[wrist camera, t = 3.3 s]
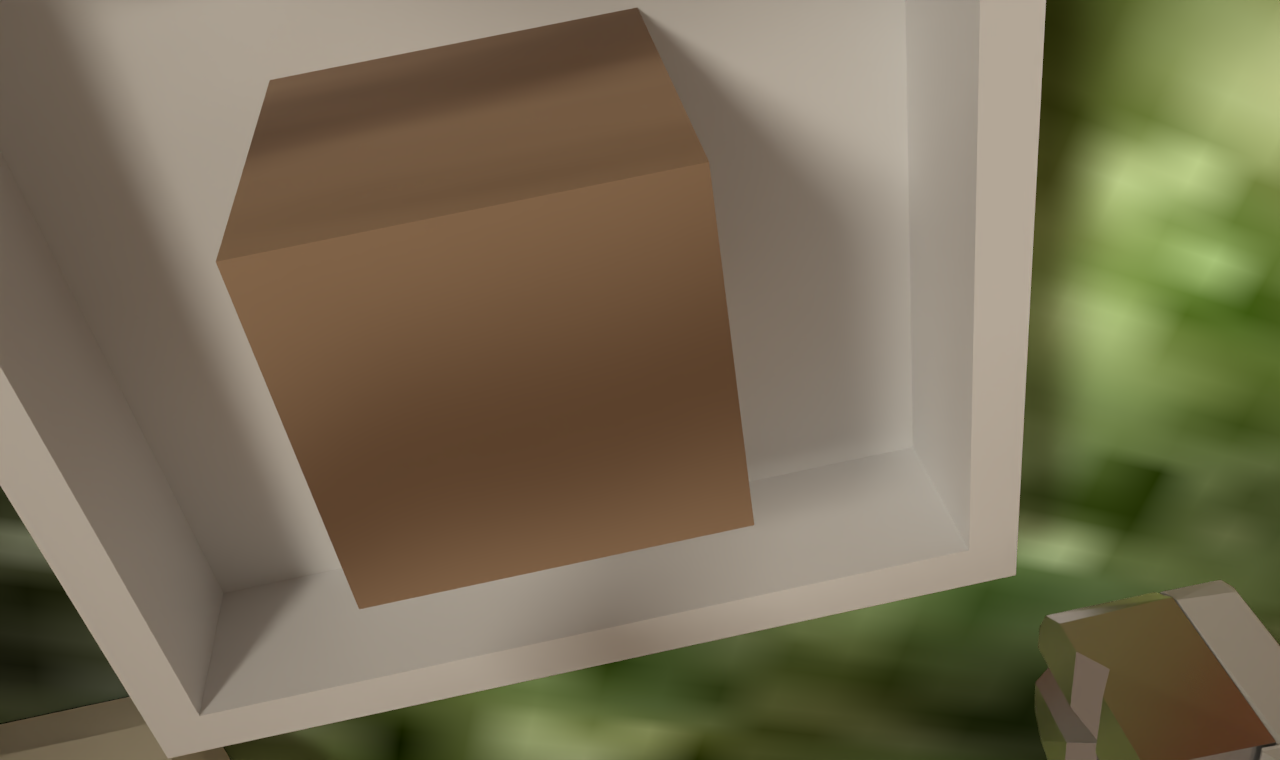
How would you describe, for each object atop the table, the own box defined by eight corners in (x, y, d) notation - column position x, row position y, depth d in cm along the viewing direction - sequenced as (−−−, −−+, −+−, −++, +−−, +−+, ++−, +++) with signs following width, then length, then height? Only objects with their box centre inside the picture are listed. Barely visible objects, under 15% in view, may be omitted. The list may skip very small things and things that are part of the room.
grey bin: (-238, -238, 14) (-412, -184, 11) (941, -458, 14) (1071, -460, 11) (201, 601, 22) (168, 758, 19) (940, 445, 22) (1016, 575, 20)
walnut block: (269, 80, 16) (216, 261, 12) (637, 7, 16) (709, 162, 12) (373, 380, 19) (359, 609, 15) (684, 316, 19) (754, 525, 15)
